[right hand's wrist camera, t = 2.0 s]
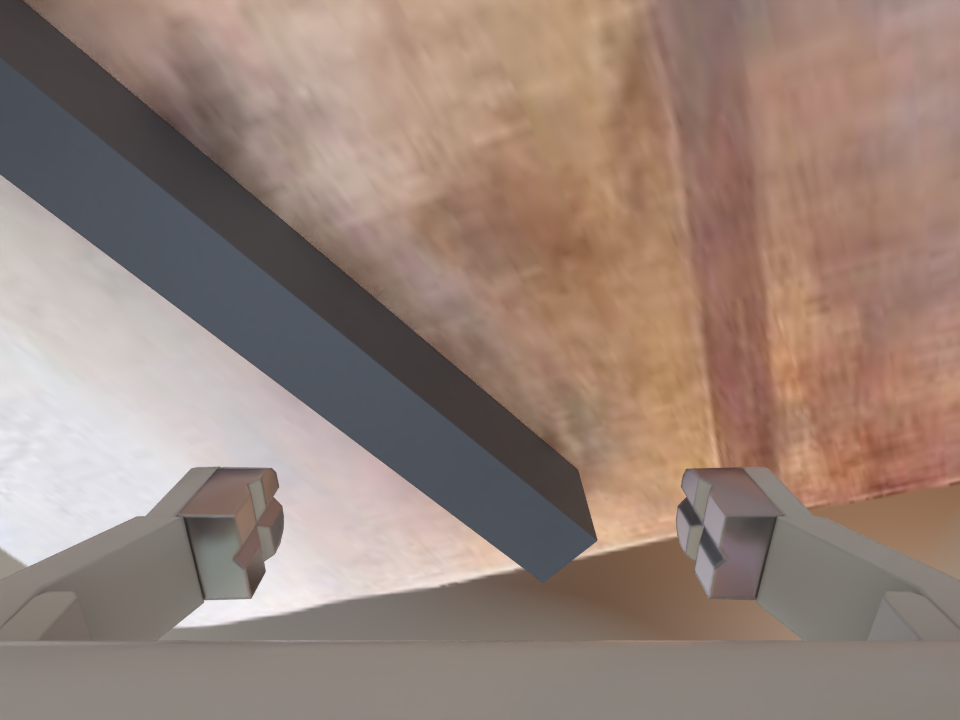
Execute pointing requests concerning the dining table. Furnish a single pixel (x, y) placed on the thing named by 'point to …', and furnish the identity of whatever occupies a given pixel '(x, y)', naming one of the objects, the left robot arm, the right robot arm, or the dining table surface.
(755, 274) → the dining table surface
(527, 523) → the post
